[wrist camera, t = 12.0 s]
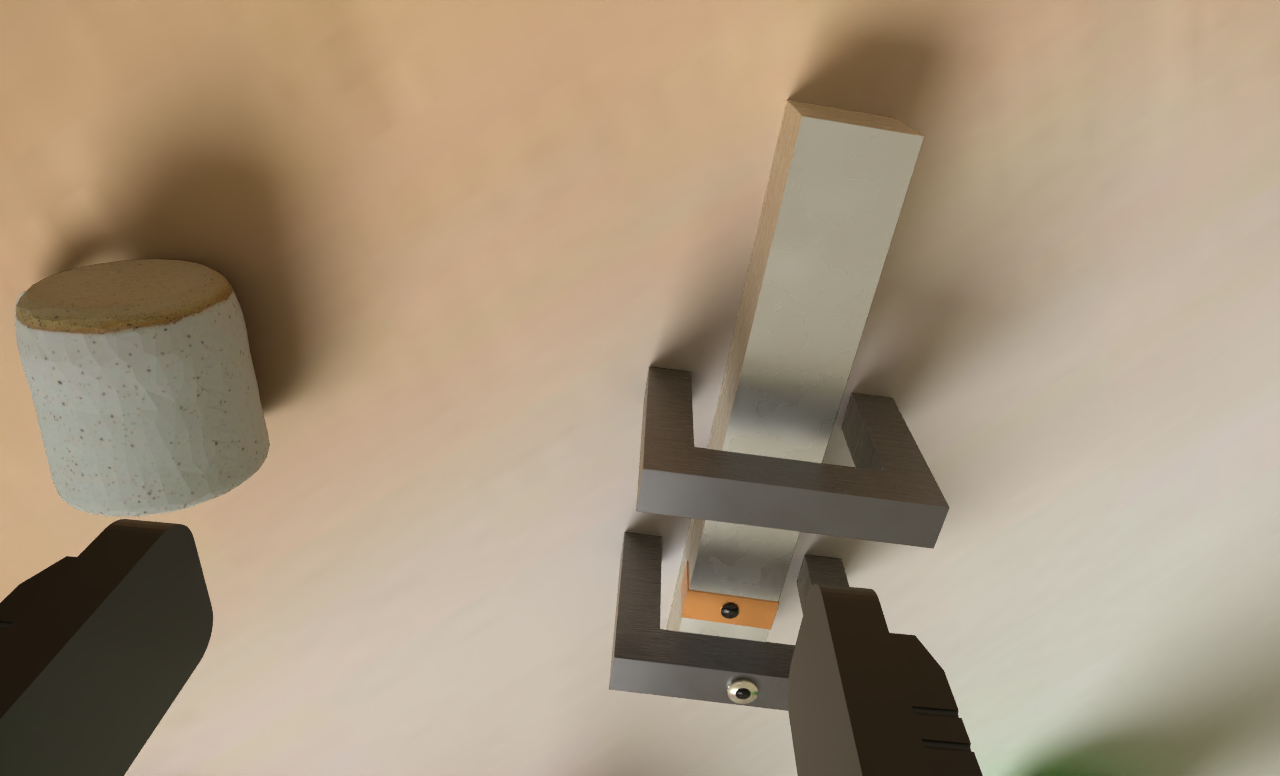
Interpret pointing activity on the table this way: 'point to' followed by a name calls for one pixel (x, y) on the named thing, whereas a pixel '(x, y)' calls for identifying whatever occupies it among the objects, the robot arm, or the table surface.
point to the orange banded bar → (795, 341)
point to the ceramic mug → (141, 385)
